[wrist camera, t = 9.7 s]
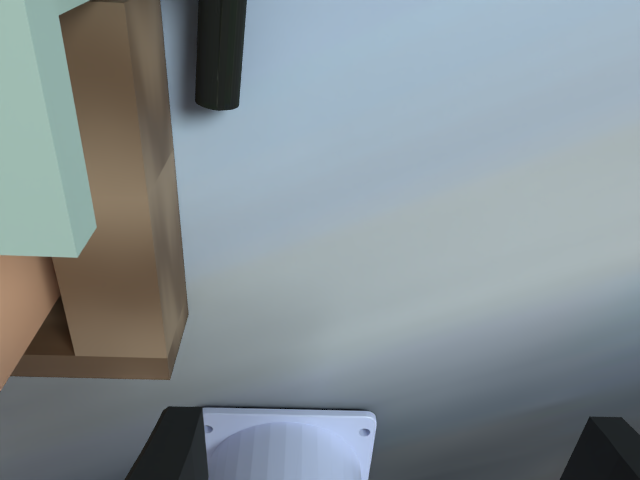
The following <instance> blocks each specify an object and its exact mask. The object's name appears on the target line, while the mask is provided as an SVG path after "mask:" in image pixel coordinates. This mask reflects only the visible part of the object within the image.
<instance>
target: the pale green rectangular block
mask: <svg viewBox="0 0 640 480" xmlns="http://www.w3.org/2000/svg"><path fill="white" fill-rule="evenodd" d="M87 1H89V0H0V255H12V256H42V257H72V258H78V256H79V255H80V253H81V251H82V250H83V248H84V247H85V245H86V244H87V242H88V240H89V239H90V237H91V236H92V234H93V233H94V231H95V229H96V228H97V226H96V220H95V214H94V209H93V203H92V198H91V192H90V187H89V181H88V176H87V170H86V165H85V159H84V154H83V148H82V143H81V137H80V132H79V126H78V120H77V115H76V109H75V104H74V98H73V93H72V87H71V82H70V76H69V71H68V65H67V60H66V54H65V49H64V43H63V38H62V32H61V26H60V21H59V15H61V14H63V13H65V12H67V11H69V10H71V9H73V8H75V7H77V6H79V5H81V4H83V3H85V2H87Z"/></svg>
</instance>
